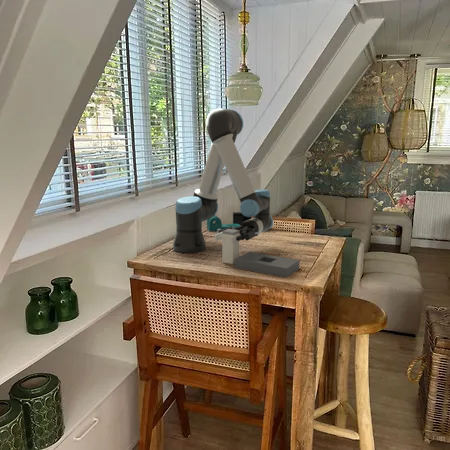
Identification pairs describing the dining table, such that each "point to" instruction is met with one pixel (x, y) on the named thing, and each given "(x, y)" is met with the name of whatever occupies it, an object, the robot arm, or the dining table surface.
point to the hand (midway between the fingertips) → (223, 239)
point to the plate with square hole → (267, 264)
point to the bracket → (218, 224)
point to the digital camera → (239, 218)
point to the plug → (229, 246)
